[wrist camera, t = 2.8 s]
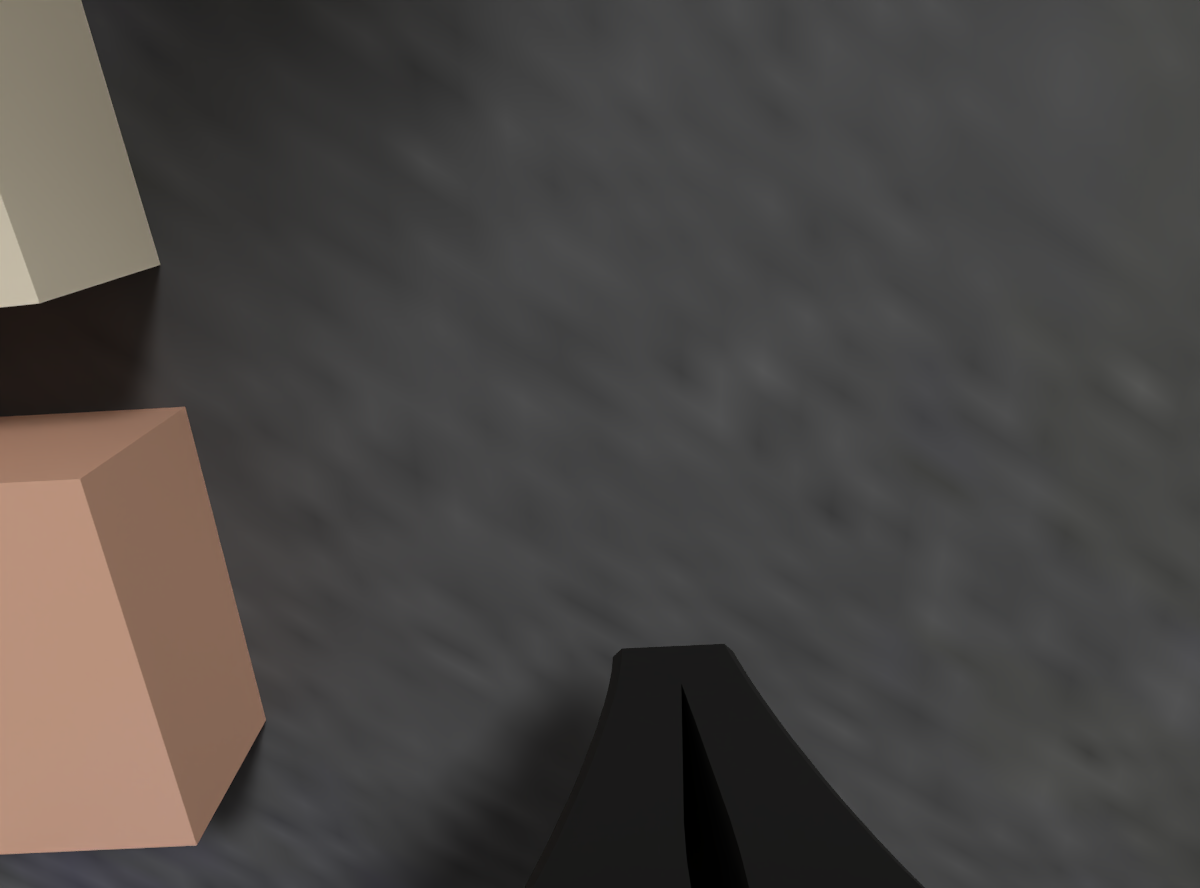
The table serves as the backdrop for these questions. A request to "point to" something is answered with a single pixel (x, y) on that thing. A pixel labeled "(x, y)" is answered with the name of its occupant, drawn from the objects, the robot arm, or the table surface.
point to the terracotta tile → (114, 636)
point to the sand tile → (61, 161)
